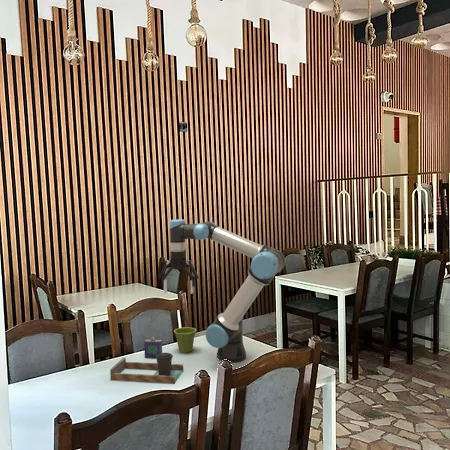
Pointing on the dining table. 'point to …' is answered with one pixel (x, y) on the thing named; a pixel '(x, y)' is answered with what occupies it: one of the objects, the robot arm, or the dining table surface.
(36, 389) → the dining table surface
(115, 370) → the tray
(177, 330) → the plant pot
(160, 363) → the coffee cup
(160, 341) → the flask
